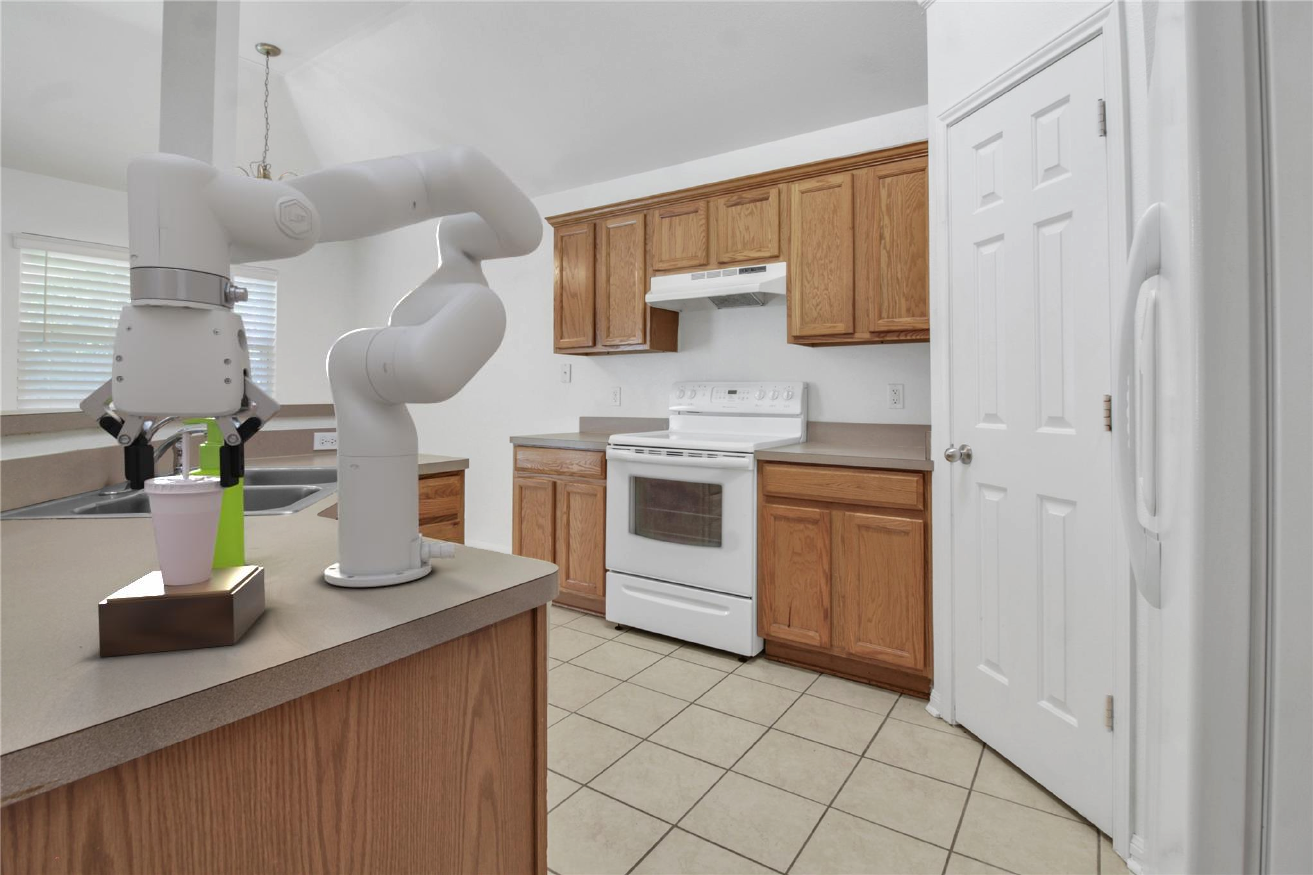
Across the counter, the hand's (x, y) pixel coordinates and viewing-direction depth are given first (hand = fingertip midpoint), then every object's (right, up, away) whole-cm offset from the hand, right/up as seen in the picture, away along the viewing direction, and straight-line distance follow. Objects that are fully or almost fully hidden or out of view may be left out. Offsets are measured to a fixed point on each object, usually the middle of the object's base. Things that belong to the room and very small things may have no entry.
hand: (187, 485), depth 60 cm
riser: (0, -14, +1) cm, 14 cm away
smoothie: (0, -9, 0) cm, 9 cm away
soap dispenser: (-13, -13, +23) cm, 29 cm away
